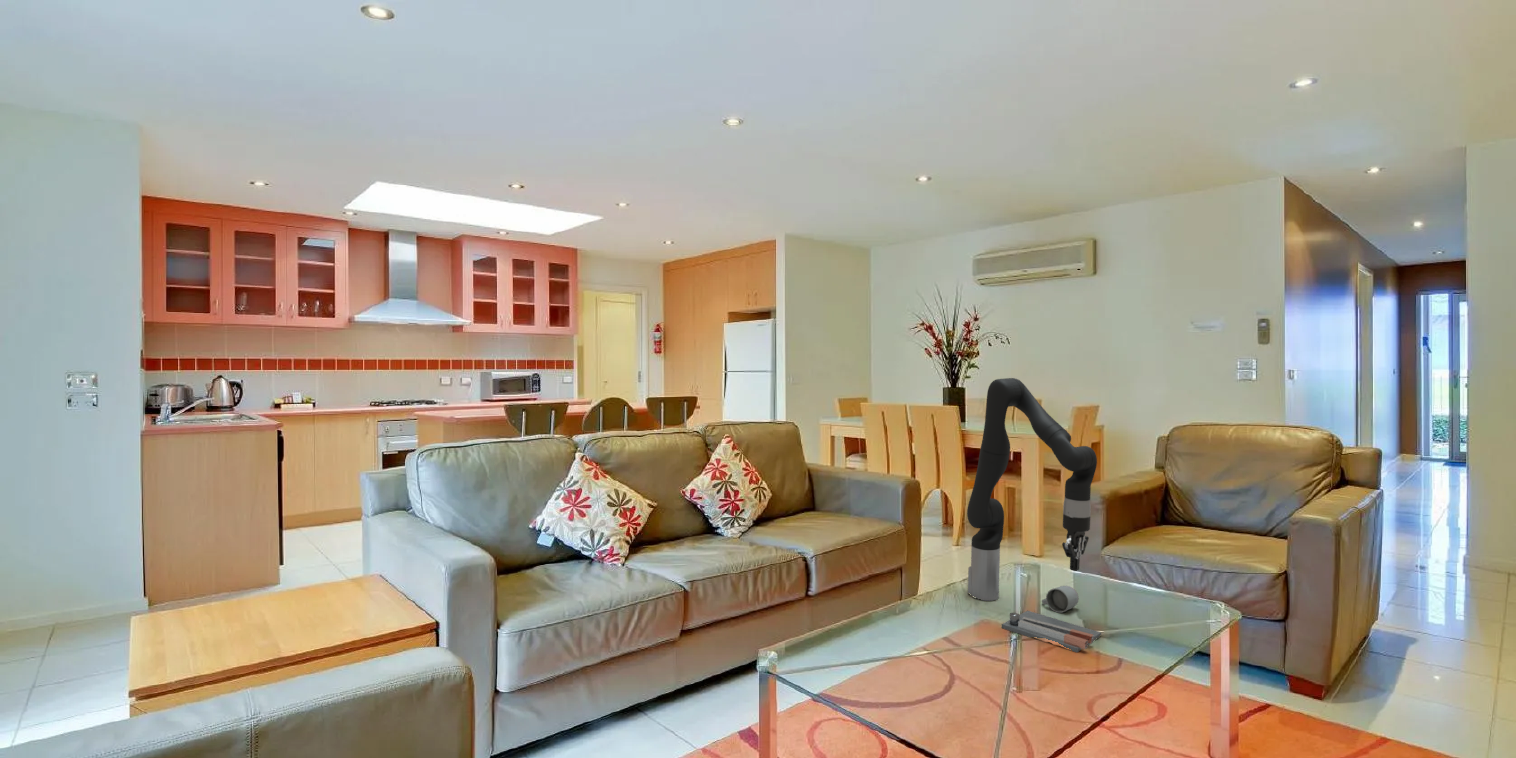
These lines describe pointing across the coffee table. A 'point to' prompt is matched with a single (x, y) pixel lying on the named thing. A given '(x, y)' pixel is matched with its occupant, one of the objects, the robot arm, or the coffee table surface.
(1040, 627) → the tongs fixed arm
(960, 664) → the coffee table surface
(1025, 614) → the board
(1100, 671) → the coffee table surface
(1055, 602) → the ceramic mug
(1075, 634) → the tongs free arm
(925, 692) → the coffee table surface
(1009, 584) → the coffee table surface
